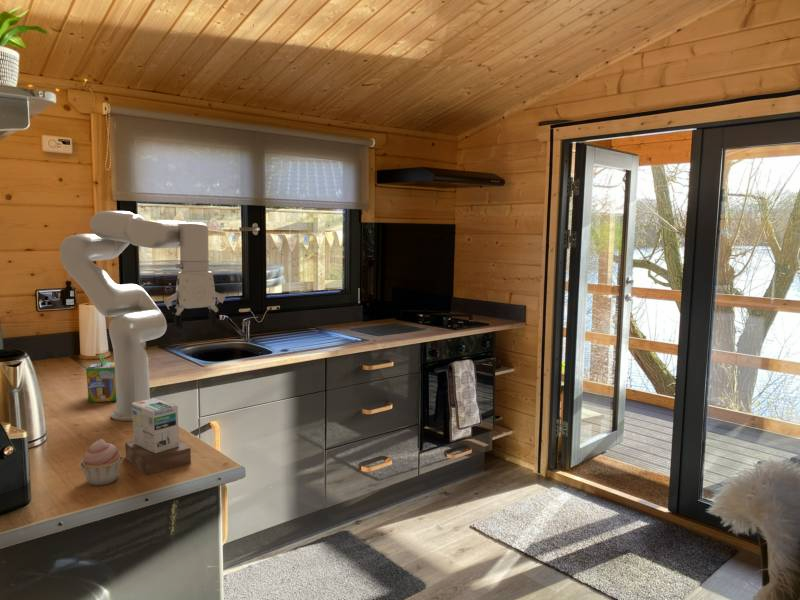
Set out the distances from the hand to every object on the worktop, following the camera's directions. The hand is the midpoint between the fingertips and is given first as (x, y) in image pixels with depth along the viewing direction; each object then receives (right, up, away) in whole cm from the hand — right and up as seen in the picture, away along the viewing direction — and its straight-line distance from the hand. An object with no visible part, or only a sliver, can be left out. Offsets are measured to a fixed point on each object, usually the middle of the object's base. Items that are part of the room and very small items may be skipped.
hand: (195, 326), depth 179 cm
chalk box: (-40, -25, +31) cm, 56 cm away
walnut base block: (-3, -33, -20) cm, 39 cm away
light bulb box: (-3, -29, -21) cm, 36 cm away
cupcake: (-11, -35, -32) cm, 49 cm away
